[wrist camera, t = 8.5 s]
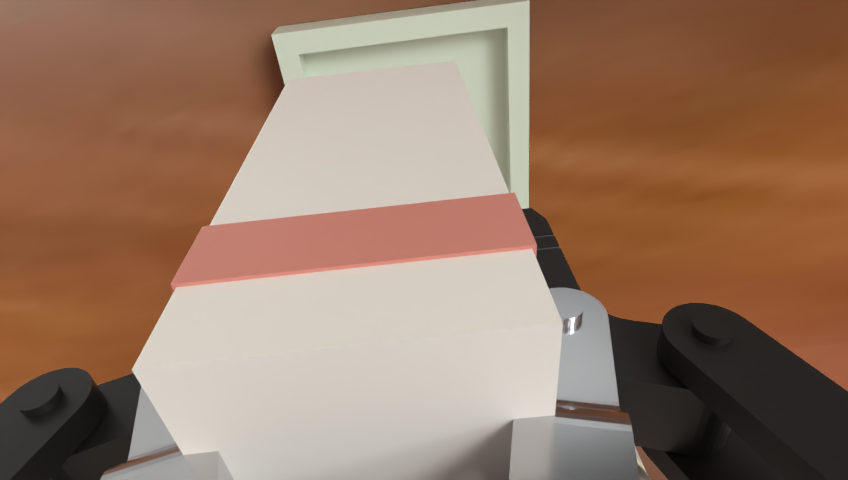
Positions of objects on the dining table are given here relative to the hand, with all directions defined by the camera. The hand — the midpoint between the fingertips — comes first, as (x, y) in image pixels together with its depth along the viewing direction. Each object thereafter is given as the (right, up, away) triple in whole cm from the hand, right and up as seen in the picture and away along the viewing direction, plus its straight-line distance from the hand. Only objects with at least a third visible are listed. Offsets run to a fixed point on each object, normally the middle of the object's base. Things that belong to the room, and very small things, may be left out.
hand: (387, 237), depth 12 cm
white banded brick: (0, +2, +2) cm, 3 cm away
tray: (0, +7, +21) cm, 23 cm away
